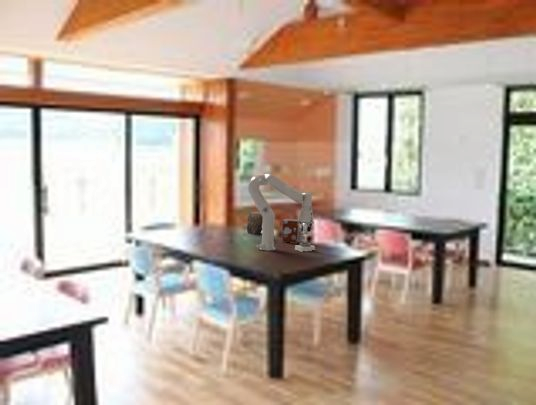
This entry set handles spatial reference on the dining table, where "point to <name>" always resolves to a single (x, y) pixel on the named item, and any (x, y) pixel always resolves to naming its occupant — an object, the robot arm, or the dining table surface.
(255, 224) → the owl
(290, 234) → the brown patterned box
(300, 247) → the camera body
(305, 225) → the lens
